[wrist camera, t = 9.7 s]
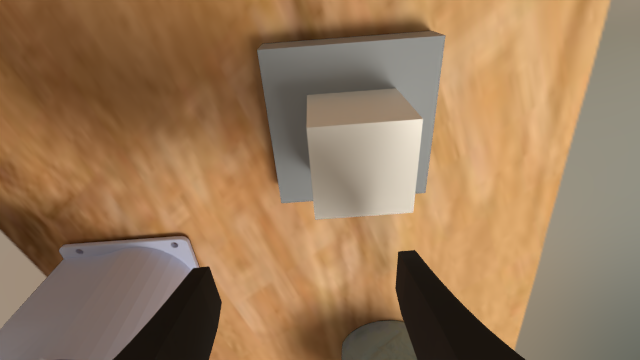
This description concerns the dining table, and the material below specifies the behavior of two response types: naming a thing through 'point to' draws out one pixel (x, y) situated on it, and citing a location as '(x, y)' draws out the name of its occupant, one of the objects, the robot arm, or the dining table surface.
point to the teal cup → (379, 342)
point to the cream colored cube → (363, 153)
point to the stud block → (344, 76)
